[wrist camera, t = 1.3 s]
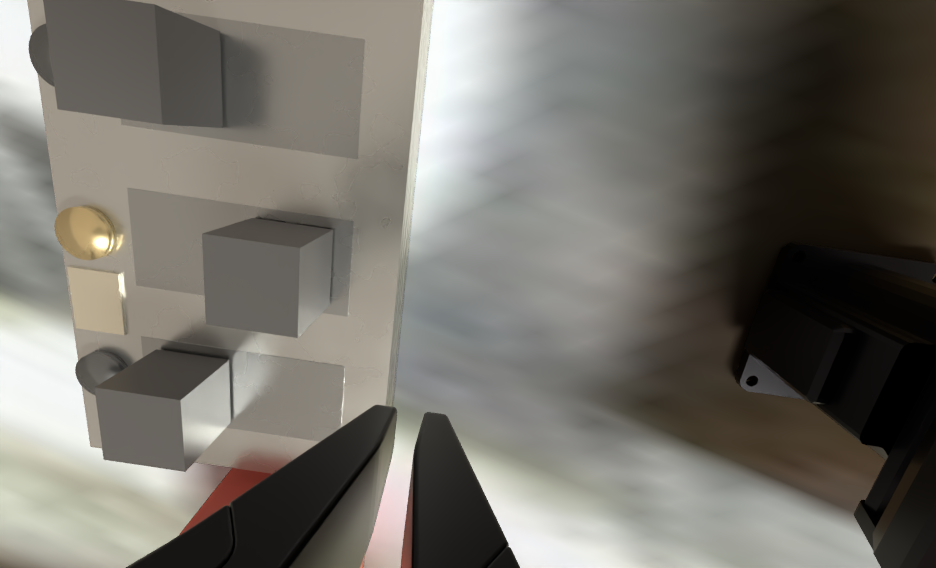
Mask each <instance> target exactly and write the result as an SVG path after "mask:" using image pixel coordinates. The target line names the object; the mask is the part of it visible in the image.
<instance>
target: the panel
mask: <svg viewBox="0 0 936 568" xmlns="http://www.w3.org/2000/svg"><path fill="white" fill-rule="evenodd" d="M129 1H135V2H142V3H149V4H155V5H157V6H160V7H162V8H165V9H167V10H170V11H172V12H174V13H177V14H179V15H182V16H184V17H187V18H189V19H191V20H194V21H196V22H199V23H201V24H203V25H206V26H208V27H211V28H213V29H216V30H218V31H220V44H221V81H222V117H223V128H214V127H196V126H178V125H161V124H155V123H148V122H141V121H134V120H127V119H120V118H114V117H107V116H100V115H93V114H86V113H79V112H72V111H66V110H59V109H57V102H56V94H55V87H54V79H53V72H52V64H51V57H50V49H49V41H48V34H47V26H46V19H45V11H44V4H43V0H27V2H28V9H29V16H30V23H31V30H32V35H31V38H30V41H29V54H30V58H31V62H32V64H33V66H34V68H35V70H36V71H37V73H38V79H39V86H40V93H41V100H42V107H43V115H44V122H45V129H46V136H47V143H48V150H49V157H50V164H51V171H52V178H53V185H54V192H55V199H56V206H57V213H58V216H57V218H56V221H55V233H56V236H57V239H58V241H59V242H60V244H61V245H62V249H63V256H64V263H65V270H66V277H67V284H68V291H69V298H70V305H71V312H72V319H73V326H74V333H75V340H76V347H77V354H78V362H77V364H76V370H75V371H76V376H77V379H78V381H79V383H80V384H81V385H82V390H83V397H84V404H85V411H86V418H87V425H88V432H89V439H90V446H91V447H96V448H102V442H101V434H100V427H99V419H98V412H97V404H96V397H95V389H94V387H96V386H98V385H99V384H101V383H102V382H104V381H106V380H107V379H109V378H110V377H112V376H114V375H115V374H117V373H119V372H120V371H122V370H123V369H125V368H127V367H128V366H130V365H132V364H133V363H135V362H136V361H138V360H140V359H141V358H143V357H144V356H146V355H148V354H149V353H151V352H153V351H154V350H156V349H158V350H165V351H172V352H179V353H185V354H192V355H199V356H206V357H212V358H219V359H226V360H229V375H230V412H231V423H230V424H229V425H228V426H227V427H226V428H225V429H224V430H223V432H222V433H221V434H220V435H219V436H218V437H217V438H216V439H215V440H214V441H213V442H212V443H211V444H210V446H209V447H208V448H207V449H206V450H205V451H204V452H203V453H202V454H201V455H200V456H199V457H198V458H197V460H196V461H195V462H197V463H203V464H210V465H217V466H224V467H230V468H237V469H244V470H250V471H257V472H264V473H271V474H273V473H274V472H276V471H277V470H279V469H280V468H282V467H283V466H285V465H286V464H288V463H289V462H291V461H292V460H294V459H295V458H297V457H298V456H299V455H301V454H302V453H304V452H305V451H307V450H308V449H310V448H311V447H313V446H314V445H316V444H317V443H319V442H320V441H322V440H323V439H325V438H326V437H328V436H329V435H331V434H332V433H334V432H335V431H337V430H338V429H340V428H341V427H343V426H344V425H346V424H347V423H349V422H350V421H352V420H353V419H354V418H356V417H357V416H359V415H360V414H362V413H363V412H365V411H366V410H368V409H369V408H371V407H372V406H374V405H384V406H390V407H393V399H394V389H395V379H396V369H397V359H398V349H399V339H400V329H401V319H402V309H403V299H404V290H405V280H406V270H407V260H408V250H409V240H410V230H411V220H412V210H413V200H414V190H415V180H416V170H417V160H418V150H419V140H420V131H421V121H422V111H423V101H424V91H425V81H426V71H427V61H428V51H429V41H430V31H431V21H432V11H433V1H434V0H129ZM250 218H257V219H263V220H270V221H277V222H284V223H291V224H297V225H304V226H311V227H318V228H325V229H332V230H333V242H332V263H331V284H330V306H329V307H328V308H327V309H326V310H325V311H324V312H323V313H322V314H321V315H320V316H319V317H318V318H317V319H316V320H315V321H314V322H313V323H312V324H311V325H310V326H309V327H308V328H307V329H306V330H305V331H304V332H303V333H302V334H301V335H300V336H299V337H298V338H294V337H287V336H281V335H274V334H267V333H260V332H253V331H247V330H240V329H233V328H226V327H220V326H213V325H206V317H205V294H204V271H203V248H202V233H206V232H209V231H212V230H215V229H218V228H221V227H225V226H228V225H231V224H234V223H237V222H240V221H244V220H247V219H250Z"/></svg>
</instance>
